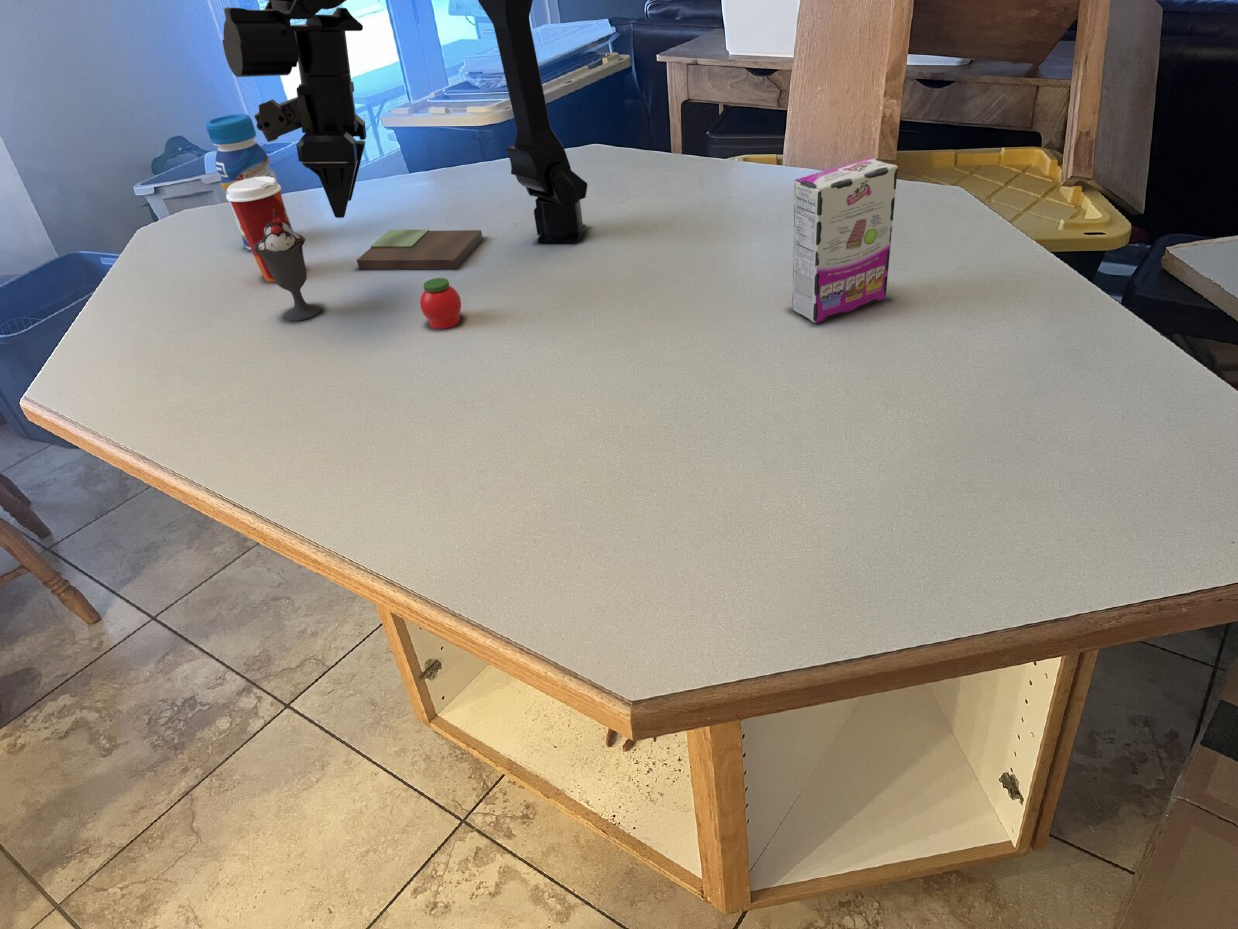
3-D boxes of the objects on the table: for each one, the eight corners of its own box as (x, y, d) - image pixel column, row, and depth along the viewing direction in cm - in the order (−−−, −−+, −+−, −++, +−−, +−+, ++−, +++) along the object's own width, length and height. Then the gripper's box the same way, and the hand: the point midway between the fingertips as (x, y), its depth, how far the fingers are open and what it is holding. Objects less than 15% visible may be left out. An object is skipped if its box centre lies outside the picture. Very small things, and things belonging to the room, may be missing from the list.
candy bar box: (859, 286, 105) (871, 155, 96) (886, 300, 102) (901, 164, 92) (788, 310, 102) (793, 176, 92) (814, 325, 98) (821, 187, 88)
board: (483, 238, 132) (481, 228, 131) (456, 269, 122) (453, 258, 121) (391, 239, 135) (389, 229, 134) (358, 269, 126) (355, 258, 125)
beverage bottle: (292, 230, 144) (252, 108, 132) (299, 244, 137) (258, 118, 125) (242, 241, 141) (197, 118, 129) (247, 256, 135) (199, 129, 123)
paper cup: (318, 267, 128) (289, 176, 120) (283, 287, 123) (250, 193, 114) (281, 262, 131) (250, 173, 123) (245, 282, 126) (210, 190, 117)
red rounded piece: (470, 313, 109) (462, 274, 106) (456, 331, 105) (447, 291, 102) (434, 312, 110) (424, 274, 107) (418, 330, 106) (408, 291, 103)
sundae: (313, 324, 111) (276, 215, 102) (269, 323, 112) (229, 215, 104) (336, 302, 116) (303, 197, 107) (294, 302, 118) (257, 198, 109)
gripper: (267, 65, 104) (288, 193, 111) (236, 81, 88) (263, 228, 96) (358, 67, 106) (373, 192, 113) (344, 82, 90) (362, 226, 98)
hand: (343, 208), depth 105 cm, fingers open, 9 cm apart
